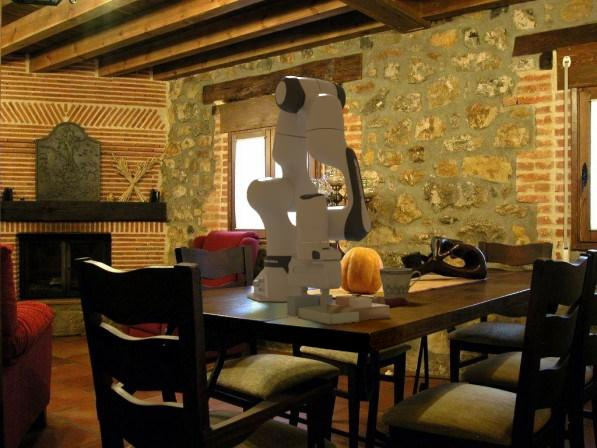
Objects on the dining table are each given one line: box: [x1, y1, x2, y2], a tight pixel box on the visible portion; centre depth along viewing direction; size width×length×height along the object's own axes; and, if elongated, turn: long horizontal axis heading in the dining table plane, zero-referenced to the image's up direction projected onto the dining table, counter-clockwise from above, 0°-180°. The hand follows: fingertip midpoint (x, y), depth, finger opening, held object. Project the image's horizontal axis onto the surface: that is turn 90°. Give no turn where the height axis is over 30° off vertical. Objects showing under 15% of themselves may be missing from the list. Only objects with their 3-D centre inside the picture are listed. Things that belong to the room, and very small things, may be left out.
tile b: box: [349, 297, 372, 308], centre depth 155 cm, size 4×4×2 cm
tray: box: [297, 306, 360, 326], centre depth 153 cm, size 14×8×2 cm, turn 32°
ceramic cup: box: [378, 267, 422, 300], centre depth 189 cm, size 13×10×10 cm
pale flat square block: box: [327, 302, 391, 322], centre depth 158 cm, size 12×11×3 cm
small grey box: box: [286, 293, 334, 317], centre depth 165 cm, size 12×4×5 cm, turn 122°
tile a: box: [335, 294, 357, 305], centre depth 160 cm, size 4×4×2 cm
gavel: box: [350, 293, 411, 308], centre depth 176 cm, size 21×5×10 cm
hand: (314, 304), depth 164 cm, fingers open, 6 cm apart
